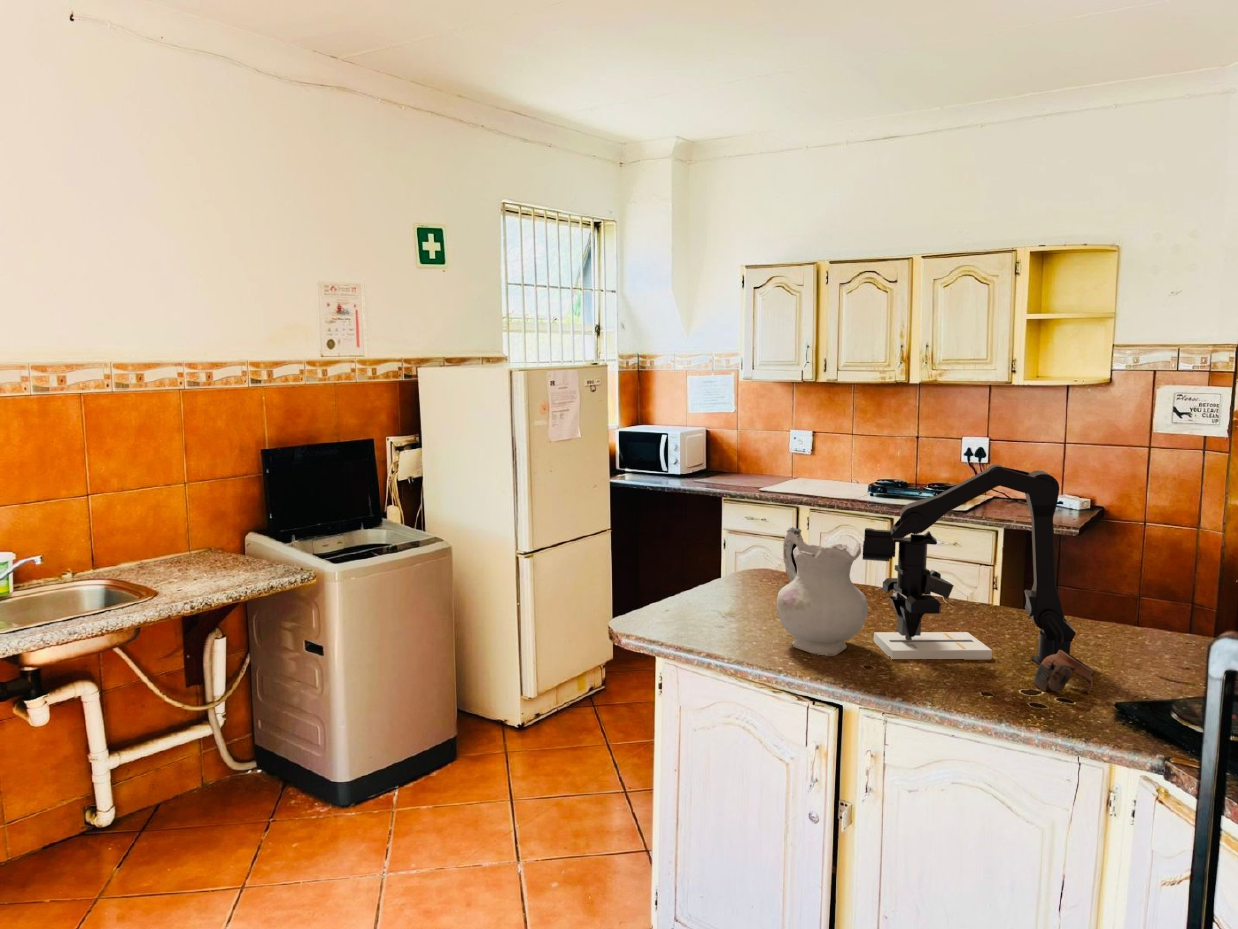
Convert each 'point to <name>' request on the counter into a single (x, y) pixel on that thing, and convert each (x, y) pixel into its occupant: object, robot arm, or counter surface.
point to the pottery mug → (1061, 671)
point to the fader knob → (902, 628)
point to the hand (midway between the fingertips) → (908, 634)
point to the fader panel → (932, 646)
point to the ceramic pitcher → (820, 596)
